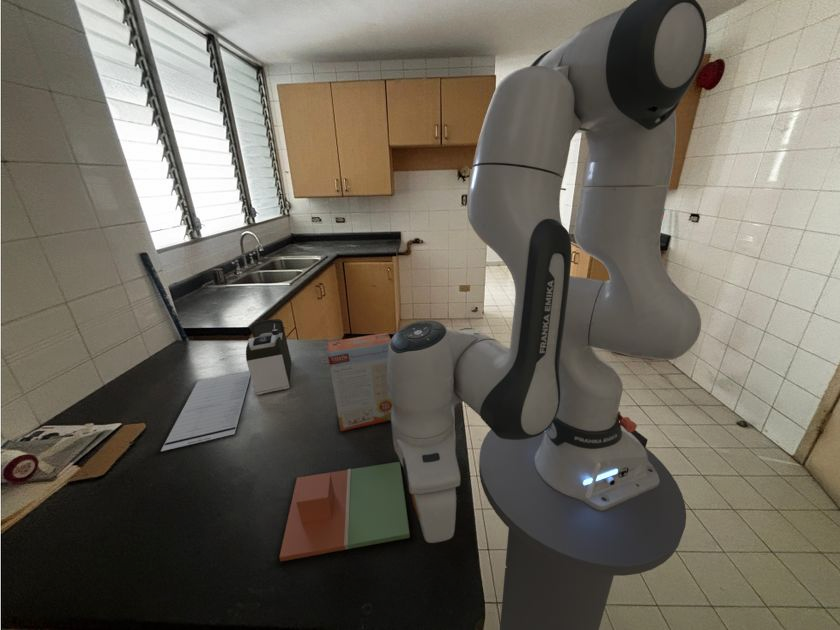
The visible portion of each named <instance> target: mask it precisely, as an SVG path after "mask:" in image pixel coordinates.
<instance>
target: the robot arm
mask: <svg viewBox="0 0 840 630" xmlns="http://www.w3.org/2000/svg"><path fill="white" fill-rule="evenodd" d="M706 20H707V19H706V16H705V13H704V10H703V7H702V6H701V5H700V4H699V3H698V1H697V0H635V1H633V2H631V3H630V4H629V5H628V6H627V7H623V8H622V9H619V10H616V11H613V12H612V13H610V14H607V15H605V16H603V17H600V18H598V19H597V20H594V21H593V22H591V23H589V24H587V25H585V26H584V27H582V28H581V29H580V30H578V31H576V33H574V34H573V35H571V36H570V37H568V38H566V39H565V40H564V41H562V42H560V43H559V44H558V45H557V46H555V47H554V48H553V49H549V50H547V51H545V52H543V53H542V54H540V56H539V57H538V58H536V59H535V60H534V61H533V62H532V63H531V64H530V65H528V66H524V67H522V68H518V69H515V70H513V71H512V72H510V73H508V74H507V75H505V77H503V78H502V80H500V82H499V83H498V85H497V86H496V88H495V90H494V92H493V94H492V97H491V100H490V103H489V105H488V107H487V111H486V114H485V116H484V119H483V122H482V124H481V125H482V126H481V128H480V133H479V136H478V139H477V145H476V147H475V153H474V156H473V161H472V164H471V165H472V166H471V172H470V177H469V181H468V187H467V194H466V195H467V196H466V213H467V214H466V215H467V219H468V222H469V223H470V226H471V227H472V229H473V231H474V232H475V234H476V235H477V237H478V238H479V239H480V240H481V241H482V242H483V243H484V244H485V245H486V246H488V247H489V248H490V249H491V250H492V251H494V252H495V254H496V255H497V256H498V257H499V258H500V259H501V260H502V262H503V263H504V265H505V266H506V267H507V269H508V271H509V273H510V275H511V277H512V280H513V284H514V291H515V292H514V294H515V298H514V306H513V316H512V325H511V333H510V334H511V335H510V345H509V346H507V345H506V344H503V343H501V341H499V340H497V339H496V338H494V337H492V336H490V335H489V334H486V333H484V332H483V331H481V330H477V329H475V328H471V327H465V328H464V327H463V328H460V329H454V328H451V327H448V326H446V325H444V324H443V323H441V322H439V321H435V320H419V321H415V322H411V323H409V324H406V325H404V326H402V327H401V328H399V329H398V330H397V331H396V332H394V334H393V336H392V337H391V338H390V339H391V342H390V344H389V348H388V355H387V381H388V393H389V397H390V400H391V402H392V405H393V408H392V412H391V420H390V423H391V432H392V444H393V449H394V452H395V454H396V455H397V457H398V459H399V462H400V465H401V466H402V467H403V472H404V475H405V479H406V484H407V486H408V491H409V494H411V495H412V494H414V497H415V502H416V506H417V510H418V515H419V519H420V521H419V524H420V528H421V532H422V537H423V539H424V541H425V542H426V543H428V544H436V543H440V542H445V541H448V540H451V539H452V538H453V537H454V535H455V531H456V519H457V516H456V515H457V491H456V488H457V487H460V486H461V478H462V477H461V471H460V464H459V460H458V456H457V455H458V454H457V450H456V431H455V429H456V427H455V424H456V423H455V407H456V406H457V405H458V404H461V403H463V402H464V403H465V404H466V405H467V406H468V407H469V408H470V409H471V410H472V411H473V412H474V413H476V414H478V416H479V417H480V419H481V420H482V421H483V422H484V423H485V424H486V425H487V426H488V428H489V429H490V430H491V429H492V431H493V432H494V433H495V434H496V435H497V436H498V437H500V438H502V439H507V440H523V439H529V438H532V437H536V436H538V435H540V434H542V433H543V432H545V434H544V437H543V440H542V442H541V445H540V447H539V449H538V451H537V452H536V455H535V466H536V469H537V471H538V473H539V474H540V476H541V477H542V478H543V480H544V481H545V482H546V483H547V484H549V485H550V486H551V487H552V488H554V489H555V490H557V491H559V492H561V493H563V494H565V495H567V496H570V497H573V498H576V499H579V500H582V501H584V502H585V503H587V504H588V505H590V506H592V507H593V508H595V509H597V510H601V511H602V510H606V509H608V508H610V507H613V506H615V505H617V504H619V503H622V502H624V501H626V500H628V499H630V498H633V497H635V496H637V495H639V494H642V493H644V492H646V491H648V490H651V489H653V488H655V487H657V486H659V482H660V480H659V476H658V474H657V472H656V470H655V468H654V467H653V466H652V464H651V463H650V462H649V461H648V456H647V453H646V450H645V448H647V444H648V438H646V437H645V436H644V435H642V434H641V433H640V432H639V431H637V430H636V429H637V428H638V425H637V423H635V422H634V421H633V420H631V418H630V417H628V416H623V415H622V414H621V412H620V411H619V409H620V404H621V400H622V395H623V391H624V385H623V380H622V378H621V376H620V375H619V373H618V371H617V370H616V368H615V367H613V365H612V364H610V363H609V362H608V361H607V360H605V359H604V358H603V357H601V356H600V355H599V354H598V353H597V351H596V350H595V348H596V349H600V350H604V351H608V352H612V353H617V354H621V355H625V356H629V357H632V358H639V359H650V360H665V361H666V360H668V361H673V360H676V359H679V358H680V357H682V356H684V355H686V353H687V352H689V351H690V350H691V349H692V348H693V346H694V345H695V344H696V343H697V341H698V339H699V337H700V335H701V331H702V330H701V329H702V318H701V314H700V311H699V309H698V307H697V305H696V303H695V302H694V300H692V298H691V297H689V296H688V295H687V294H686V293H684V292H683V291H682V290H681V289H680V288H679V286H678V285H677V284H675V282H674V281H673V279H672V278H671V276H670V275H669V273H668V271H667V269H666V266H665V265H664V261H663V258H662V254H661V234H662V233H661V232H662V226H663V218H664V211H665V206H666V202H667V196H668V192H669V189H670V188H669V187H670V183H671V178H672V174H673V167H674V161H675V152H676V141H677V140H676V139H677V138H676V137H677V114H676V109H677V107H678V106H679V104H680V102H681V100H682V99H683V97H685V96H686V93H687V92H688V91H689V89H690V87H691V86H692V84H693V82H694V81H695V78H696V77H697V74H698V72H699V70H700V68H701V65H702V62H703V59H704V57H705V52H706V48H707V39H708V29H707V28H708V27H707V21H706ZM576 134H584V135H585V139H586V142H587V148H588V150H587V154H586V158H585V163H584V166H583V170H582V175H581V182H580V188H579V195H578V201H577V209H576V215H575V222H574V229H573V237H574V241H575V243H576V245H577V246H578V247H579V249H580V250H581V251H583V252H584V253H585V254H587V255H588V256H590V257H591V258H593V259H595V260H597V261H598V262H600V263H601V264H602V265H603V266H604V267H605V269H606V271H607V273H608V275H609V276H608V277H609V280H608V279H607V280H603V279H595V278H587V277H580V276H573V275H571V267H572V240H571V235H570V233H569V231H568V229H567V228H565V226H564V225H563V222H562V218H561V207H560V205H561V203H560V202H561V200H560V199H561V190H562V185H563V182H564V177H565V173H566V168H567V164H568V159H569V154H570V149H571V142H572V140H573V138H574V137H575V135H576ZM603 500H605V501H603ZM419 519H418V520H419Z"/></svg>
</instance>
